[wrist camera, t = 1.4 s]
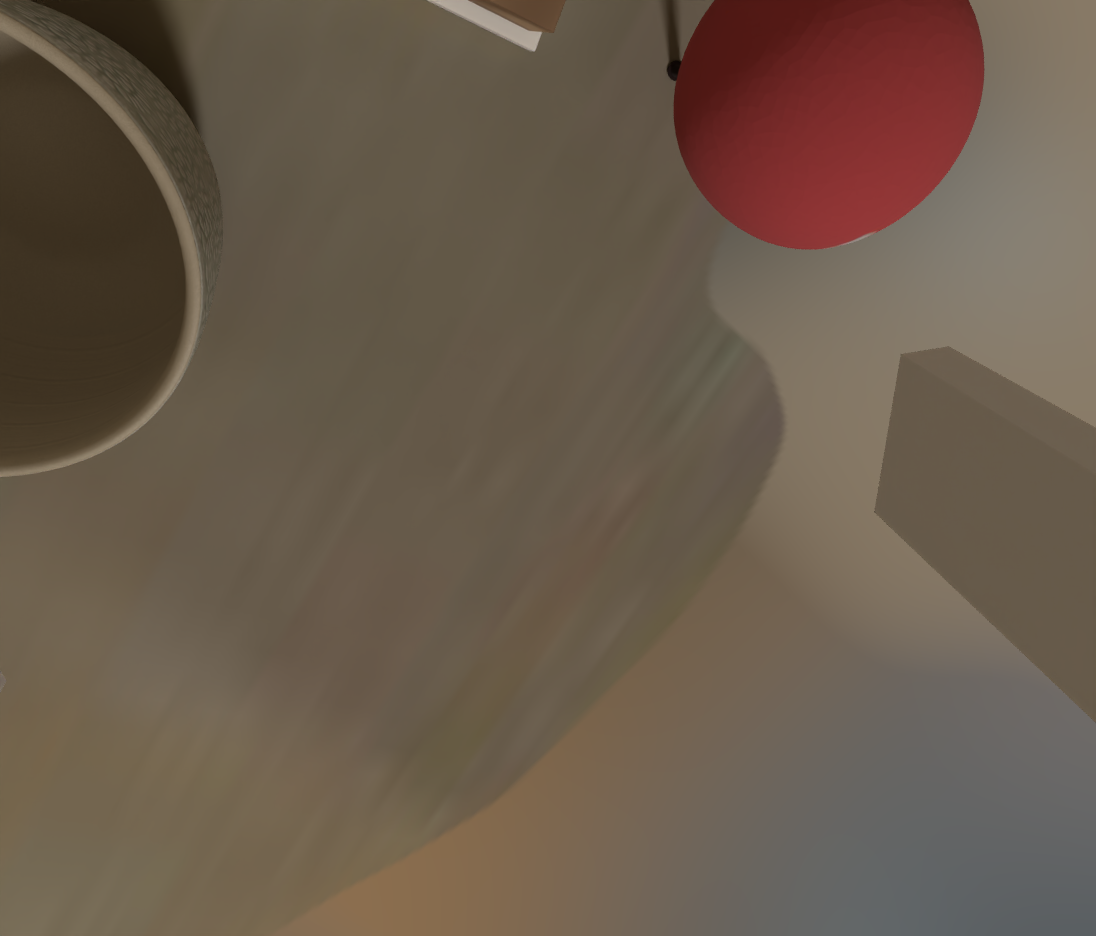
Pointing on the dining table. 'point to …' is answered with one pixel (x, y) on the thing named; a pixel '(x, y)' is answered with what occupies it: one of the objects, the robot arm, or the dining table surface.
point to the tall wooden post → (526, 12)
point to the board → (491, 22)
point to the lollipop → (825, 111)
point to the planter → (94, 241)
